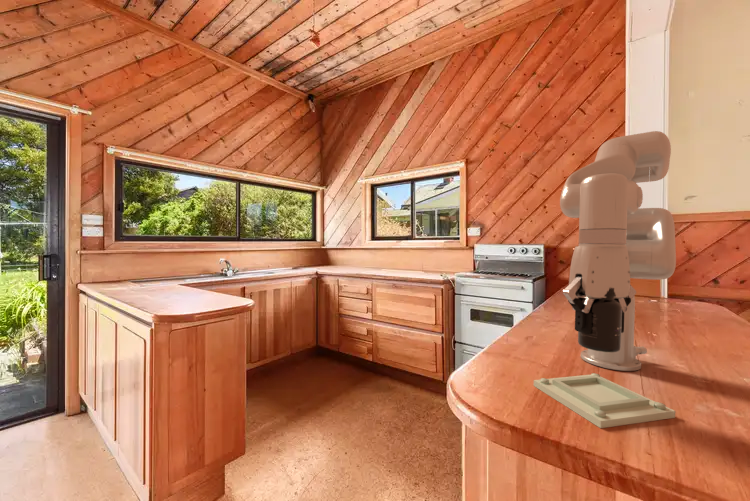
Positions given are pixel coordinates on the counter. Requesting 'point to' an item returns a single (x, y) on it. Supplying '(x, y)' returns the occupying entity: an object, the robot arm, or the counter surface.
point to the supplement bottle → (604, 325)
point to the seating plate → (603, 400)
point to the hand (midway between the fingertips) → (599, 330)
